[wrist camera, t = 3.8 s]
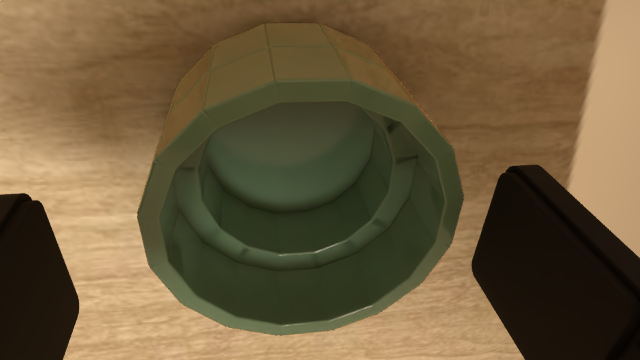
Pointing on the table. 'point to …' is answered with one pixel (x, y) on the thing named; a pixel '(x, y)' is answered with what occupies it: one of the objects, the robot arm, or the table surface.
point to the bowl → (296, 184)
